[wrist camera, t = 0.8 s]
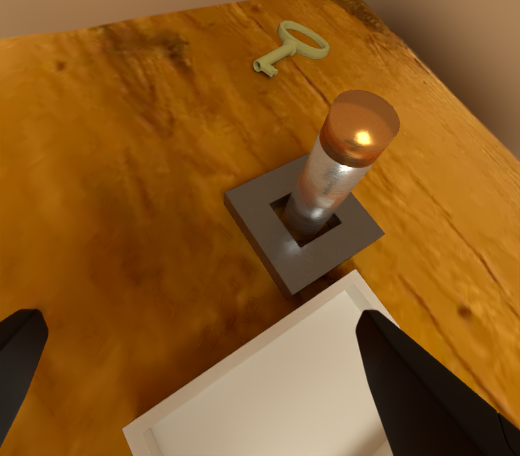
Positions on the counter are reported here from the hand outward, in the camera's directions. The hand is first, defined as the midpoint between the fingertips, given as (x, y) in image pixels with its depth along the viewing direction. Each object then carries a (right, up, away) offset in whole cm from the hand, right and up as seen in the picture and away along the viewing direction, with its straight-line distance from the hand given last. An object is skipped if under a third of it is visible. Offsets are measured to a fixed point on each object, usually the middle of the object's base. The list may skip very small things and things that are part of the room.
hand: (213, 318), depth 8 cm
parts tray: (+4, -10, +12) cm, 16 cm away
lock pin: (+5, +3, +18) cm, 19 cm away
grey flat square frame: (+5, +3, +18) cm, 19 cm away
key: (+5, +24, +29) cm, 38 cm away
